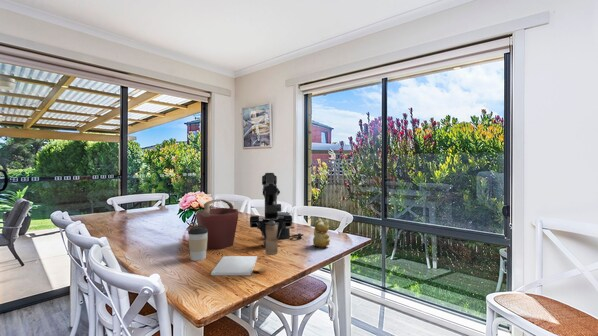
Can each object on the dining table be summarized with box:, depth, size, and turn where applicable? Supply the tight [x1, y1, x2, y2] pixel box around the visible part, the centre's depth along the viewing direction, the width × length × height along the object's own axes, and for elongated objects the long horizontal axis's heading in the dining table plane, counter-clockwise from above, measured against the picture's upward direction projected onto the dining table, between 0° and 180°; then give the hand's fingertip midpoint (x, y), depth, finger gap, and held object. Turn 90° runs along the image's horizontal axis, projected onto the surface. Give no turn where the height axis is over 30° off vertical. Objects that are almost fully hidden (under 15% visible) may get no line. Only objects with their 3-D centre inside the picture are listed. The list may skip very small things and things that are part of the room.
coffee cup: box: [187, 225, 208, 262], centre depth 133 cm, size 9×9×15 cm
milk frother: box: [276, 211, 304, 240], centre depth 170 cm, size 14×16×15 cm
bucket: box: [195, 198, 239, 250], centre depth 155 cm, size 24×22×25 cm
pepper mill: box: [264, 220, 279, 256], centre depth 122 cm, size 5×5×14 cm
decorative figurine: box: [312, 218, 331, 249], centre depth 152 cm, size 10×8×15 cm
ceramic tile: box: [210, 255, 258, 276], centre depth 124 cm, size 20×16×1 cm
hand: (271, 238), depth 120 cm, fingers closed on pepper mill, 5 cm apart
